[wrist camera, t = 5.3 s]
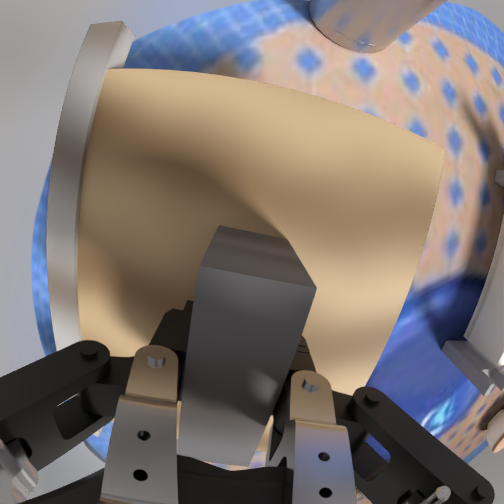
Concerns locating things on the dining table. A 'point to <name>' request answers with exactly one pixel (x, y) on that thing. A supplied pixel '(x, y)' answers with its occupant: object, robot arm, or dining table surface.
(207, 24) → the dining table surface
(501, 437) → the lidded jar
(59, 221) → the door
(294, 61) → the dining table surface
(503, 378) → the white open box
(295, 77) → the dining table surface
